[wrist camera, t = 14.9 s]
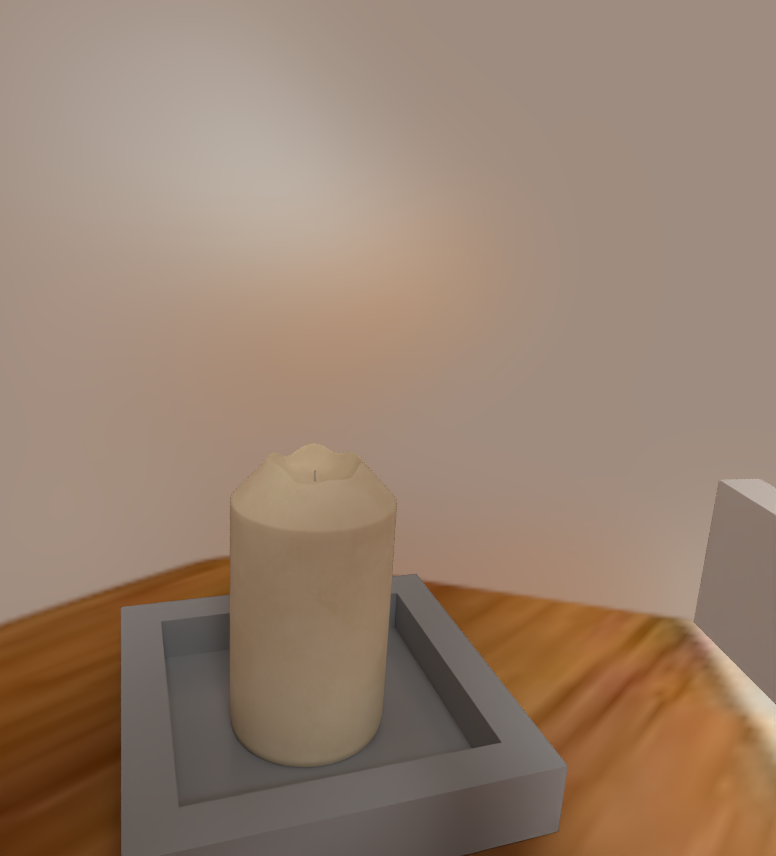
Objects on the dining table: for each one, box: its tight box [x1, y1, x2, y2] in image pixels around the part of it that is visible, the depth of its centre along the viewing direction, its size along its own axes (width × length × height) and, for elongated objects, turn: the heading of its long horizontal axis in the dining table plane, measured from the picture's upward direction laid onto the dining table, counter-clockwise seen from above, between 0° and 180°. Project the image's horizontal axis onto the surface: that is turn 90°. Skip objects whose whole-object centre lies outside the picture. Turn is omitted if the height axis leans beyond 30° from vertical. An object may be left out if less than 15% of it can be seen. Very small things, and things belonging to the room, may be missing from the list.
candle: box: [230, 444, 397, 767], centre depth 26 cm, size 6×6×10 cm
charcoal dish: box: [121, 574, 568, 856], centre depth 27 cm, size 13×13×2 cm
